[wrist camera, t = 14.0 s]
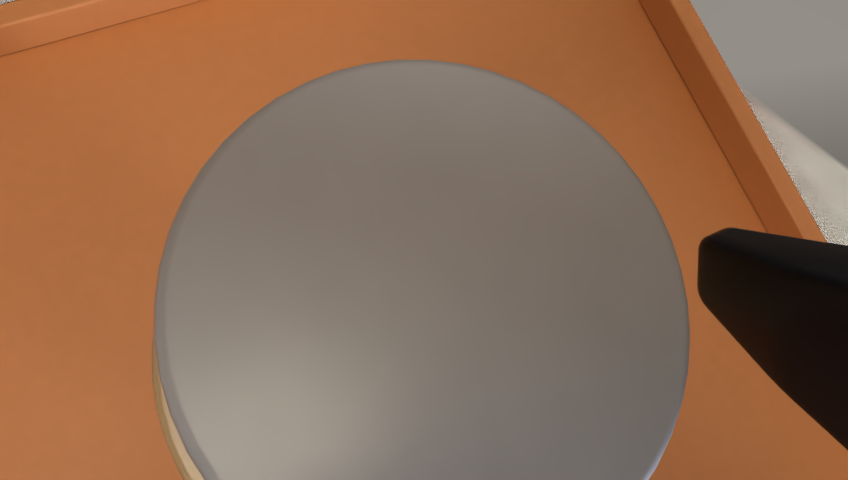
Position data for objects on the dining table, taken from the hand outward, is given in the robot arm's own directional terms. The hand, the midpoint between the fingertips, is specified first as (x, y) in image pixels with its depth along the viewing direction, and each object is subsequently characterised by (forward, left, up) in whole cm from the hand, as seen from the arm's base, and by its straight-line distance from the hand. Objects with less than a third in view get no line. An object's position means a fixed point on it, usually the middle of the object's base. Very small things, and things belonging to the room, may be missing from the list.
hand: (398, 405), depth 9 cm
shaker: (+1, 0, -9) cm, 9 cm away
